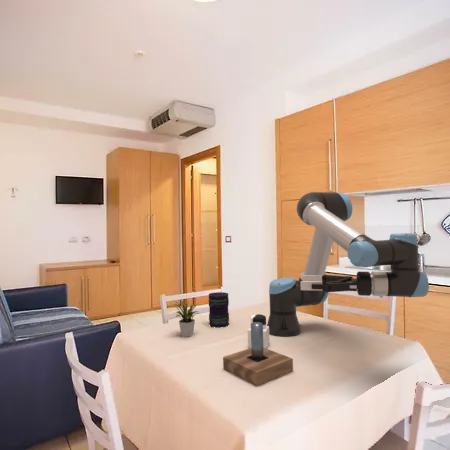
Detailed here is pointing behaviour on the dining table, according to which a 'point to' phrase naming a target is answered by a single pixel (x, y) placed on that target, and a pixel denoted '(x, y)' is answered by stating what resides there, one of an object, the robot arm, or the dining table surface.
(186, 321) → the house plant
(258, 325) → the pin
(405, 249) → the robot arm
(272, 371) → the socket block
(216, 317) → the storage jar
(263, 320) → the medicine bottle
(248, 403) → the dining table surface
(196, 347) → the dining table surface
